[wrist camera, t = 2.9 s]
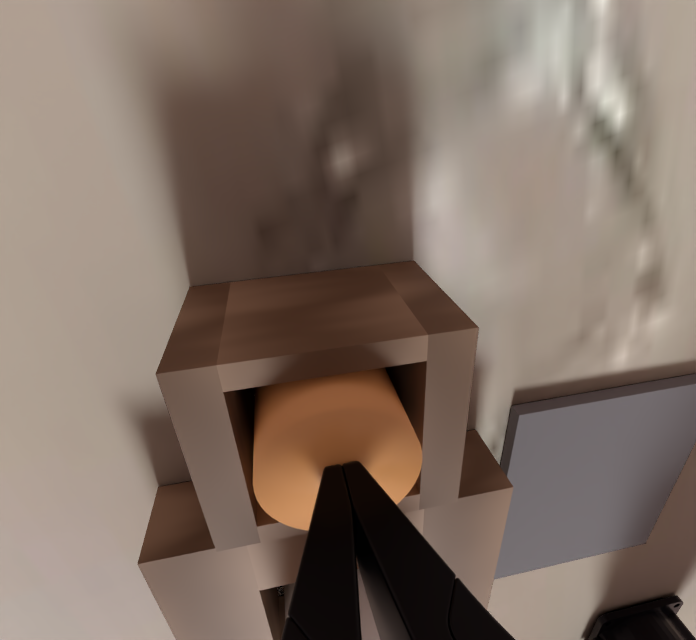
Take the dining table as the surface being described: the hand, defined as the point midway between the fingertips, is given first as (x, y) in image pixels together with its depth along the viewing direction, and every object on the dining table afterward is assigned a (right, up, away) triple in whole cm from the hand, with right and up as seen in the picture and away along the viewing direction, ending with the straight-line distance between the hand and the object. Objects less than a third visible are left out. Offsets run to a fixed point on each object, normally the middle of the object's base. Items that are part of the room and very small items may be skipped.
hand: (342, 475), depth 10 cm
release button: (-1, +2, +3) cm, 4 cm away
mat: (+12, -5, +11) cm, 17 cm away
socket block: (-1, -4, +8) cm, 9 cm away
